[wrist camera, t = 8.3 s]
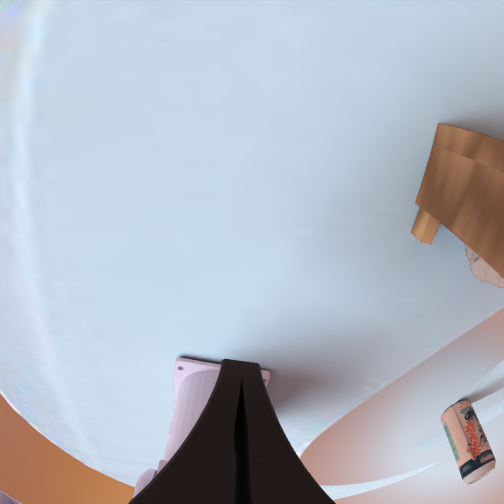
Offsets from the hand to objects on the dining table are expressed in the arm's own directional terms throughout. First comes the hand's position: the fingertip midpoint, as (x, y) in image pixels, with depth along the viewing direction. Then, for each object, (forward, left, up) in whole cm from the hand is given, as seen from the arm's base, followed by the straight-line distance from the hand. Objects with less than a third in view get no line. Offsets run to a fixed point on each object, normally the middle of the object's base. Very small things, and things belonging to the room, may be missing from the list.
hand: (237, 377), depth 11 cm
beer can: (-18, -32, -10) cm, 38 cm away
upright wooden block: (+8, -16, -9) cm, 20 cm away
